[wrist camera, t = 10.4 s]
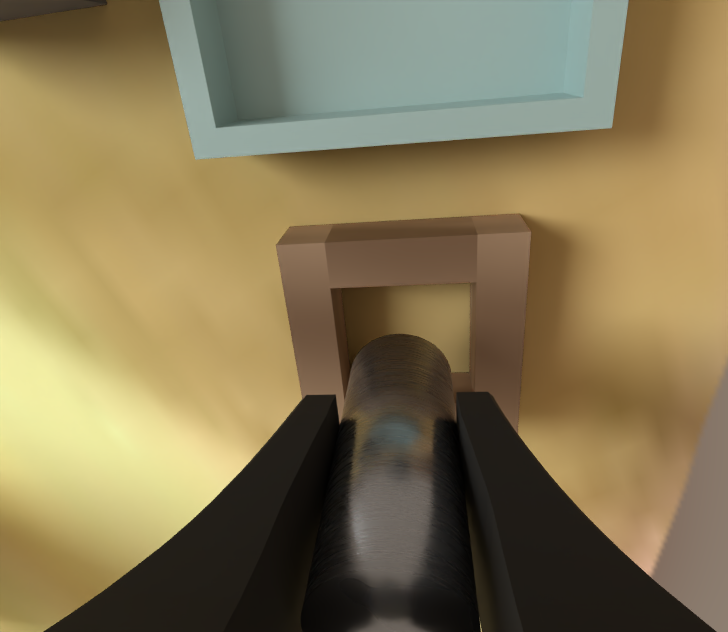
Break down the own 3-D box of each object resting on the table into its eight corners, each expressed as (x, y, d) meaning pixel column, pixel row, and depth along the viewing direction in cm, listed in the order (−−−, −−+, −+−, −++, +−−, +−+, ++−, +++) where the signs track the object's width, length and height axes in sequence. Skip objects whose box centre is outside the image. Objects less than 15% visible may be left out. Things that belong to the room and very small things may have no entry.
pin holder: (508, 404, 15) (517, 436, 14) (318, 406, 16) (309, 438, 15) (519, 213, 13) (531, 231, 11) (289, 226, 13) (275, 245, 12)
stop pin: (452, 417, 12) (479, 686, 7) (355, 418, 13) (312, 677, 7) (451, 332, 11) (483, 573, 6) (345, 335, 12) (288, 569, 6)
